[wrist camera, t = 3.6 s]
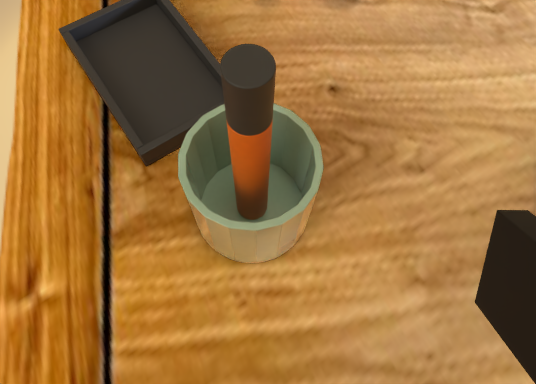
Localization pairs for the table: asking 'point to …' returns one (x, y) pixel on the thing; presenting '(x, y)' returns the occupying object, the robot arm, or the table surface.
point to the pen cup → (223, 191)
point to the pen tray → (147, 71)
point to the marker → (249, 123)
